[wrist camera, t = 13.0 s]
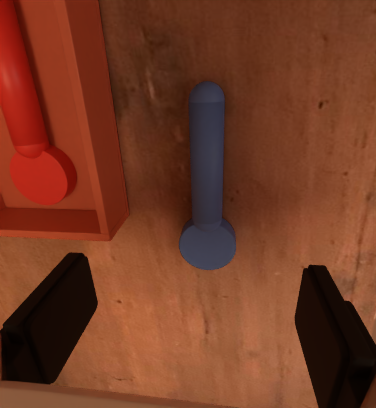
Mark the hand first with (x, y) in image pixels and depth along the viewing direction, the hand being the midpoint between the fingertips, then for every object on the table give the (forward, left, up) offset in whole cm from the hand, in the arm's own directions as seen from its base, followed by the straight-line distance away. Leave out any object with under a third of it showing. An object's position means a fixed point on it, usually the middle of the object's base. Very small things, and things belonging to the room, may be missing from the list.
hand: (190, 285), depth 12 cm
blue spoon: (-1, 0, -10) cm, 10 cm away
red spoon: (-7, -12, -9) cm, 17 cm away
